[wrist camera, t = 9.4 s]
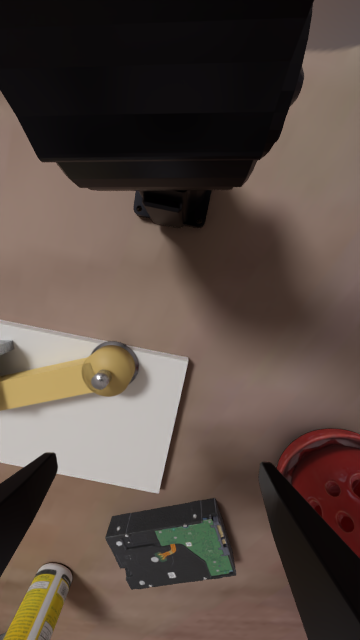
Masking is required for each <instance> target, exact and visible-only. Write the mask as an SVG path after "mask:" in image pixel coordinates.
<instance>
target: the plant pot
mask: <svg viewBox="0 0 360 640" xmlns="http://www.w3.org/2000/svg"><path fill="white" fill-rule="evenodd" d="M277 469H278V471H279V472H280V473H281V474H282V475H283V476H284V477H285V478H286V479H287V480H288V481H289V482H290V483H291V485H292V486H293V487H294V488H295V489H296V490H297V491H298V492H299V493H300V494H301V495H302V496H303V498H304V499H305V500H306V501H307V502H308V503H309V504H310V505H311V506H312V507H313V508H314V509H315V510H316V512H317V513H318V514H319V515H320V516H321V517H322V518H323V519H324V520H325V521H326V522H327V523H328V525H329V526H330V527H331V528H332V529H333V530H334V531H335V532H336V533H337V534H338V535H339V536H340V537H341V539H342V540H343V541H344V542H345V543H346V544H347V545H348V546H349V547H350V548H351V549H352V550H353V552H354V553H355V554H356V555H357V556H358V557H359V558H360V434H357V433H355V432H351V431H347V430H342V429H321V430H315V431H312V432H309V433H306V434H304V435H302V436H301V437H299V438H297V439H296V440H295V441H293V442H292V443H291V444H290V445H289V446H288V447H287V448H286V449H285V451H284V452H283V454H282V455H281V457H280V460H279V462H278V466H277Z"/></svg>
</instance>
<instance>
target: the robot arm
mask: <svg viewBox="0 0 360 640" xmlns="http://www.w3.org/2000/svg"><path fill="white" fill-rule="evenodd" d="M313 1H314V0H0V91H1V92H2V94H3V95H4V97H5V98H6V100H7V102H8V103H9V105H10V106H11V108H12V110H13V111H14V113H15V114H16V116H17V118H18V120H19V122H20V124H21V126H22V128H23V130H24V131H25V133H26V135H27V137H28V139H29V141H30V143H31V145H32V147H33V149H34V151H35V153H36V155H37V157H38V158H39V160H40V161H42V162H56V163H57V165H58V166H59V167H60V168H61V170H62V171H63V172H64V174H65V175H66V176H67V177H68V178H69V179H70V180H71V181H73V182H74V183H75V184H76V185H77V186H78V187H80V188H88V189H90V190H97V191H136V193H135V201H134V212H135V213H136V214H137V215H138V216H141V217H146V218H150V219H152V221H153V222H154V223H156V224H161V225H166V226H171V227H176V228H181V227H183V225H185V226H189V227H194V228H202V227H203V226H204V224H205V220H206V215H207V210H208V205H209V201H210V196H211V191H212V190H230V189H232V188H233V187H241V186H242V185H243V184H244V183H245V182H246V181H247V180H248V178H249V176H250V175H251V173H252V171H253V169H254V167H255V164H256V162H257V161H258V160H260V159H261V158H262V157H264V156H265V155H266V154H267V153H268V152H269V151H270V149H271V148H272V146H273V145H274V143H275V142H277V140H278V139H279V137H280V134H281V131H282V128H283V125H284V121H285V118H286V115H287V113H288V110H289V107H290V106H291V105H292V104H293V103H294V102H295V100H296V99H297V98H298V95H299V93H300V91H301V88H302V85H303V80H304V72H303V68H302V63H303V58H304V54H305V50H306V45H307V41H308V35H309V29H310V23H311V17H312V6H313ZM139 207H141V208H142V210H141V211H140V212H138V208H139ZM199 219H200V220H201V221H202V223H201V224H198V223H197V220H199ZM57 470H58V463H57V457H56V454H55V453H54V452H46V453H44V454H42V455H41V456H39V457H38V458H36V459H35V460H34V461H32V462H31V463H29V464H28V465H26V466H25V467H24V468H22V469H21V470H19V471H18V472H16V473H15V474H14V475H12V476H11V477H9V478H8V479H6V480H5V481H4V482H2V483H1V484H0V577H1V575H2V573H3V572H4V570H5V568H6V566H7V565H8V563H9V561H10V560H11V558H12V556H13V554H14V553H15V551H16V549H17V548H18V546H19V544H20V542H21V541H22V539H23V537H24V536H25V534H26V532H27V530H28V529H29V527H30V525H31V523H32V522H33V520H34V518H35V516H36V514H37V512H38V510H39V508H40V506H41V504H42V502H43V500H44V498H45V496H46V494H47V492H48V490H49V488H50V486H51V484H52V482H53V480H54V478H55V476H56V473H57ZM259 485H260V488H261V492H262V496H263V500H264V504H265V508H266V512H267V516H268V519H269V523H270V527H271V531H272V534H273V537H274V541H275V544H276V547H277V550H278V552H279V555H280V558H281V561H282V564H283V567H284V570H285V573H286V576H287V579H288V582H289V585H290V588H291V591H292V594H293V597H294V599H295V602H296V605H297V608H298V611H299V614H300V617H301V620H302V623H303V626H304V629H305V632H306V635H307V638H308V640H360V558H359V557H358V556H357V555H356V554H355V553H354V552H353V550H352V549H351V548H350V547H349V546H348V545H347V544H346V543H345V542H344V541H343V540H342V539H341V537H340V536H339V535H338V534H337V533H336V532H335V531H334V530H333V529H332V528H331V527H330V526H329V525H328V523H327V522H326V521H325V520H324V519H323V518H322V517H321V516H320V515H319V514H318V513H317V512H316V510H315V509H314V508H313V507H312V506H311V505H310V504H309V503H308V502H307V501H306V500H305V499H304V498H303V496H302V495H301V494H300V493H299V492H298V491H297V490H296V489H295V488H294V487H293V486H292V485H291V483H290V482H289V481H288V480H287V479H286V478H285V477H284V476H283V475H282V474H281V473H280V472H279V471H278V469H277V468H276V467H275V466H274V465H273V464H272V463H270V462H261V463H260V469H259Z"/></svg>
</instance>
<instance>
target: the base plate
mask: <svg viewBox="0 0 360 640" xmlns="http://www.w3.org/2000/svg"><path fill="white" fill-rule="evenodd" d="M0 340H13V344H14V348H15V349H14V350H12V351H9V352H7V353H4V354H2V355H0V376H4V375H8V374H13V373H17V372H22V371H27V370H31V369H36V368H41V367H45V366H50V365H54V364H59V363H64V362H68V361H73V360H77V359H82V358H87V357H89V356H90V355H91V353H92V351H93V350H94V349H95V348H96V347H97V346H98V345H100V344H102V343H104V342H108V341H104V340H99V339H94V338H89V337H84V336H79V335H74V334H69V333H64V332H59V331H54V330H49V329H44V328H39V327H34V326H29V325H24V324H19V323H15V322H10V321H5V320H0ZM127 346H128V347H130V348H131V349H132V350H133V351H134V353H135V354H136V356H137V358H138V362H139V371H138V374H137V376H136V378H135V379H134V380H133V381H132V382H131V383H130V384H129V385H128V386H127V388H126V389H125V390H124V391H123V392H122V393H120V394H118V395H116V396H111V397H106V396H101V395H98V394H96V393H94V392H92V393H87V394H82V395H77V396H72V397H67V398H62V399H57V400H52V401H47V402H42V403H37V404H32V405H27V406H22V407H17V408H12V409H7V410H2V411H0V462H1V463H6V464H11V465H16V466H21V467H25V466H26V465H28V464H29V463H31V462H32V461H34V460H35V459H36V458H38V457H39V456H41V455H42V454H44V453H46V452H54V453H55V454H56V457H57V463H58V470H57V474H62V475H67V476H72V477H77V478H82V479H87V480H92V481H97V482H102V483H108V484H113V485H118V486H123V487H128V488H133V489H138V490H143V491H148V492H153V493H158V494H159V490H160V485H161V481H162V476H163V472H164V467H165V463H166V459H167V454H168V450H169V445H170V441H171V436H172V432H173V427H174V423H175V419H176V414H177V410H178V405H179V401H180V396H181V392H182V388H183V383H184V379H185V374H186V370H187V365H188V357H183V356H178V355H173V354H168V353H163V352H158V351H154V350H149V349H144V348H139V347H134V346H129V345H127Z"/></svg>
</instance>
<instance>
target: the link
mask: <svg viewBox="0 0 360 640" xmlns="http://www.w3.org/2000/svg"><path fill="white" fill-rule="evenodd" d="M103 369H104V370H107V371H109V372H110V373H111V375H112V379H111V381H110V382H109V383H108V385H107V386H106V387H105V388H104V389H102V390H99V389H96V388H94V387H93V386H92V384H91V379H92V378H93V377H94V375H95V374H96V373H97V372H98V371H100V370H103ZM134 373H135V362H134V359H133V357H132V356H131V354H130V353H129V352H128V351H127V350H125V349H124V348H122V347H120V346H116V345H106V346H103V347H101V348H99V349H98V350H97V351H95V352H94V353H93V354H91V355H90V356H89V357H87V358H82V359H77V360H73V361H68V362H64V363H59V364H54V365H50V366H45V367H41V368H36V369H31V370H27V371H22V372H17V373H13V374H8V375H4V376H0V411H2V410H7V409H12V408H17V407H22V406H27V405H32V404H37V403H42V402H47V401H52V400H57V399H62V398H67V397H72V396H77V395H82V394H87V393H92V392H94V393H96V394H98V395H101V396H106V397H111V396H116V395H118V394H120V393H122V392H123V391H124V390H125V389H126V388H127V386H128V384H129V383H130V381H131V379H132V377H133V376H134Z"/></svg>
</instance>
